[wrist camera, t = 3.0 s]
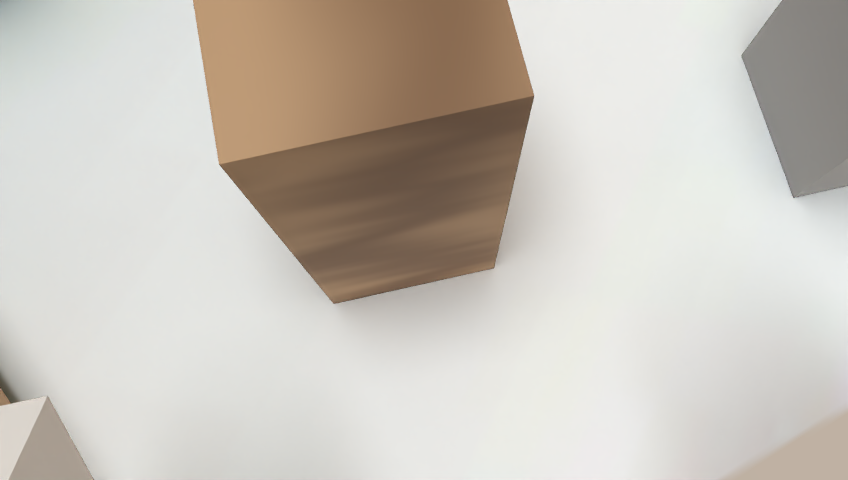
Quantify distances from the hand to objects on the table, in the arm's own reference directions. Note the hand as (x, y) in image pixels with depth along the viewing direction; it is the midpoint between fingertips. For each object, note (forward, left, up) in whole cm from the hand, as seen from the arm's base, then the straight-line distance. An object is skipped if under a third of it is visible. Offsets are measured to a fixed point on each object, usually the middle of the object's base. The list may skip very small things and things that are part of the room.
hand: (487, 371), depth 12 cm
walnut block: (-6, +2, -11) cm, 13 cm away
